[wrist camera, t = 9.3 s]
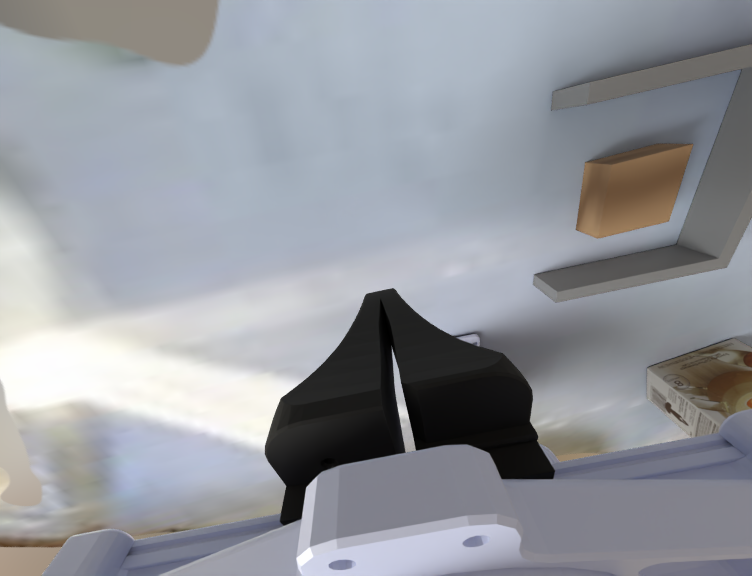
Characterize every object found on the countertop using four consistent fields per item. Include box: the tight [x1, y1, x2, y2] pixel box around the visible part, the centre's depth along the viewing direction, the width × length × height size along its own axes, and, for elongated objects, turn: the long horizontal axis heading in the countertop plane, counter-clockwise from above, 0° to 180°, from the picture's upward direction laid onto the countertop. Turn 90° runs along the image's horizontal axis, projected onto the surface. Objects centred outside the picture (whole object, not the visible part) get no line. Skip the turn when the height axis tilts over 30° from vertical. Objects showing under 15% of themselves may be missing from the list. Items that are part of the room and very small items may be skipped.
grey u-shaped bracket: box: [533, 44, 752, 303], centre depth 18 cm, size 14×13×3 cm
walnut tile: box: [576, 144, 693, 239], centre depth 19 cm, size 5×5×2 cm
